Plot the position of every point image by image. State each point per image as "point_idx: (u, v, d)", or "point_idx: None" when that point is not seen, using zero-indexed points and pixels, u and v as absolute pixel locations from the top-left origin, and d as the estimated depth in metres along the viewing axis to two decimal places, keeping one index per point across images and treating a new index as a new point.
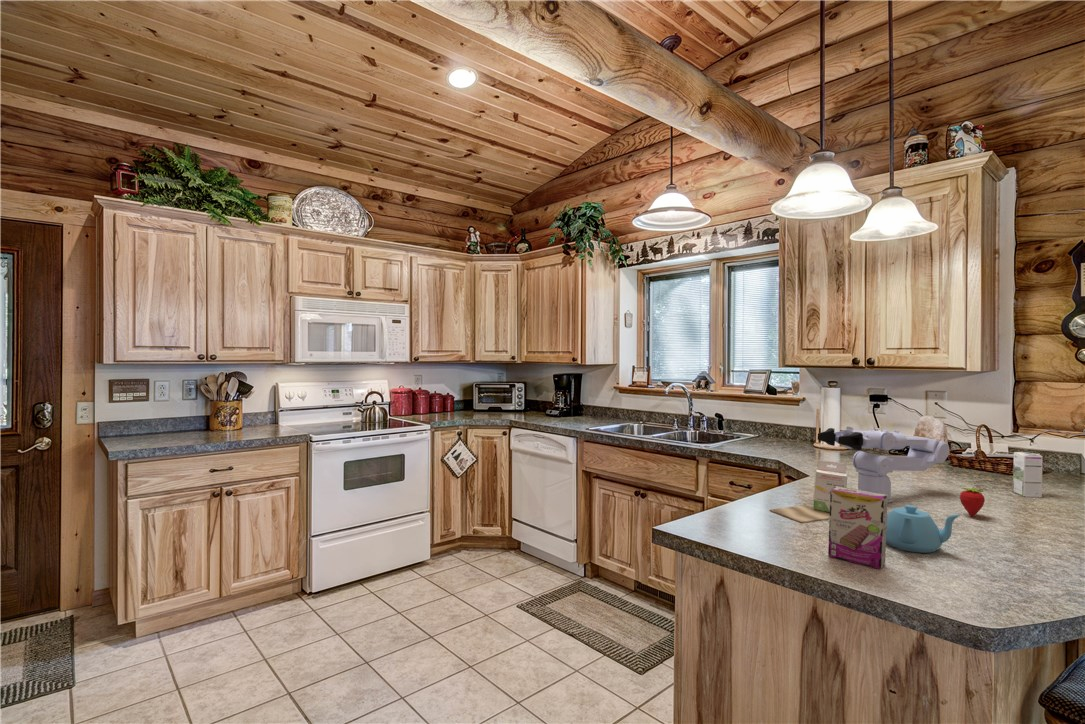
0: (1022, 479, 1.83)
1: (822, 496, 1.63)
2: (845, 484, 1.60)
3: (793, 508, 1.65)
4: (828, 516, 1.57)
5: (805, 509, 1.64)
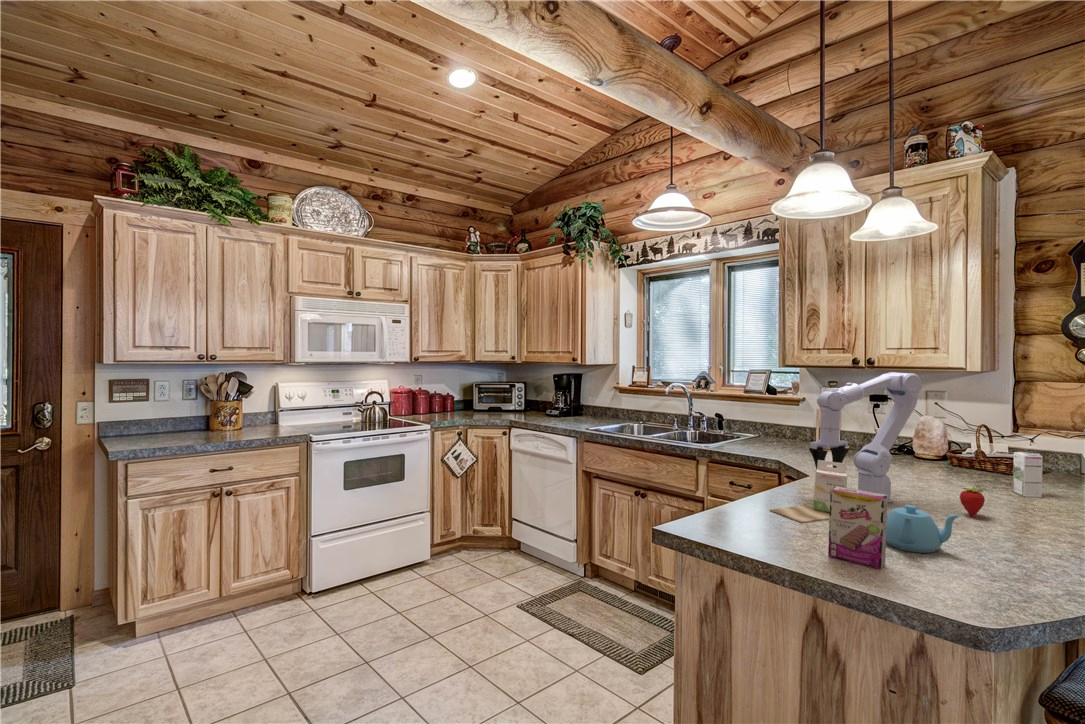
0: (1022, 479, 1.83)
1: (822, 496, 1.63)
2: (845, 484, 1.60)
3: (793, 508, 1.65)
4: (828, 516, 1.57)
5: (805, 509, 1.64)
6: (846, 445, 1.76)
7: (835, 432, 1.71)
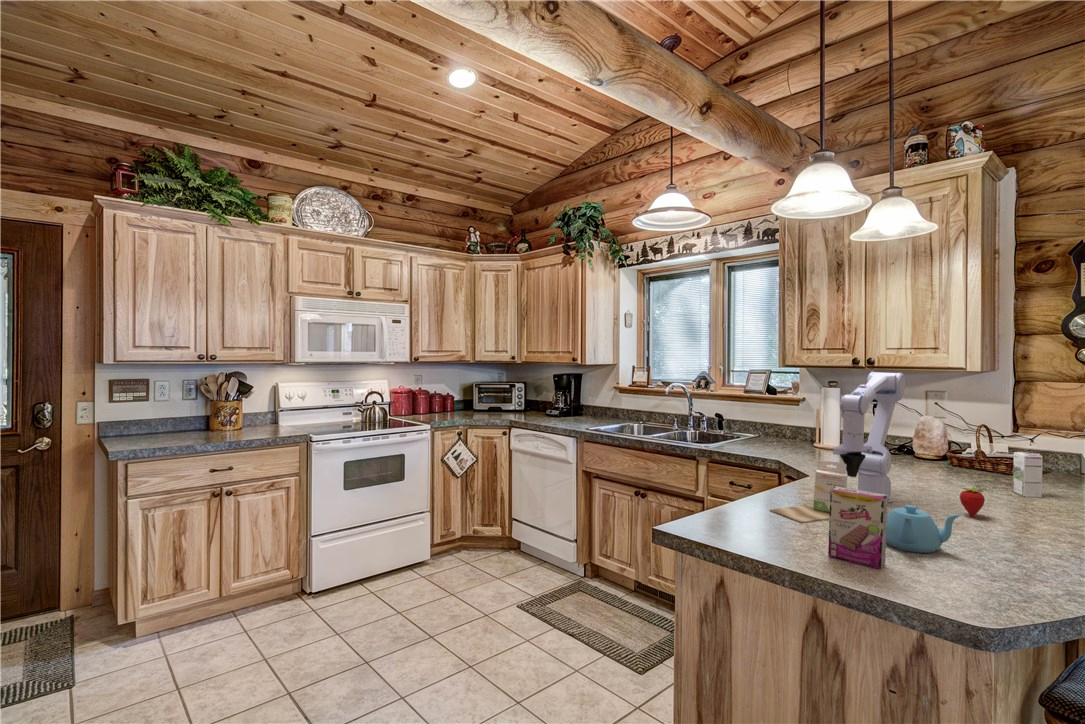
0: (1022, 479, 1.83)
1: (822, 496, 1.63)
2: (845, 484, 1.60)
3: (793, 508, 1.65)
4: (828, 516, 1.57)
5: (805, 509, 1.64)
6: (870, 450, 1.68)
7: (859, 437, 1.64)
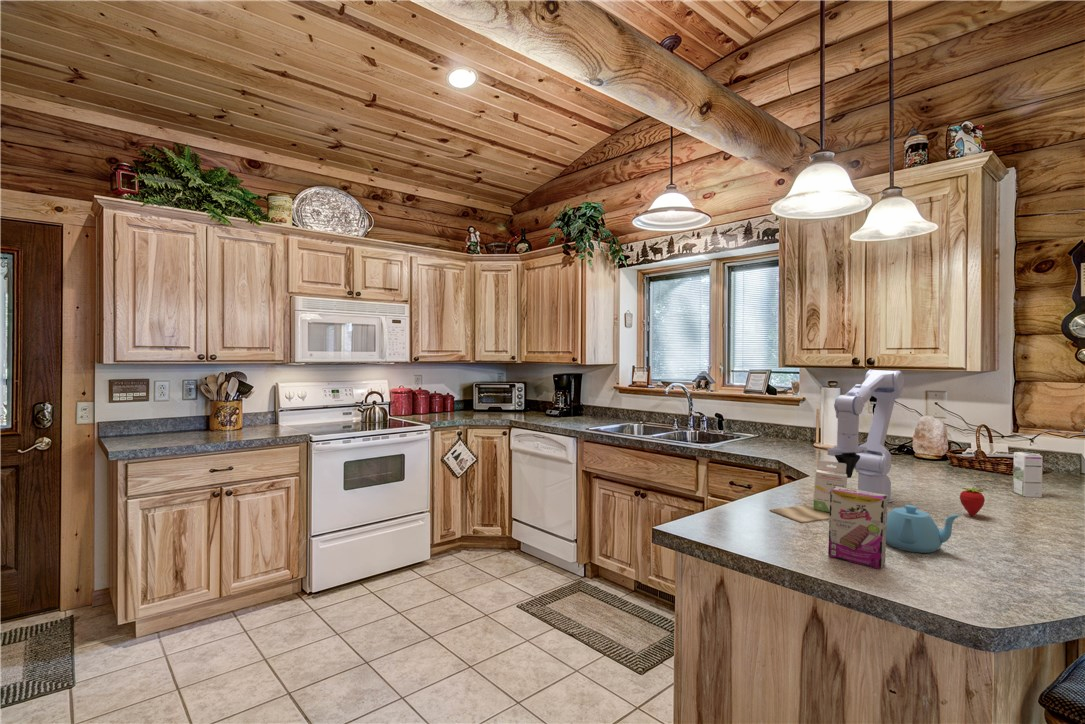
0: (1022, 479, 1.83)
1: (822, 496, 1.63)
2: (845, 484, 1.60)
3: (793, 508, 1.65)
4: (828, 516, 1.57)
5: (805, 509, 1.64)
6: (865, 451, 1.68)
7: (854, 438, 1.63)
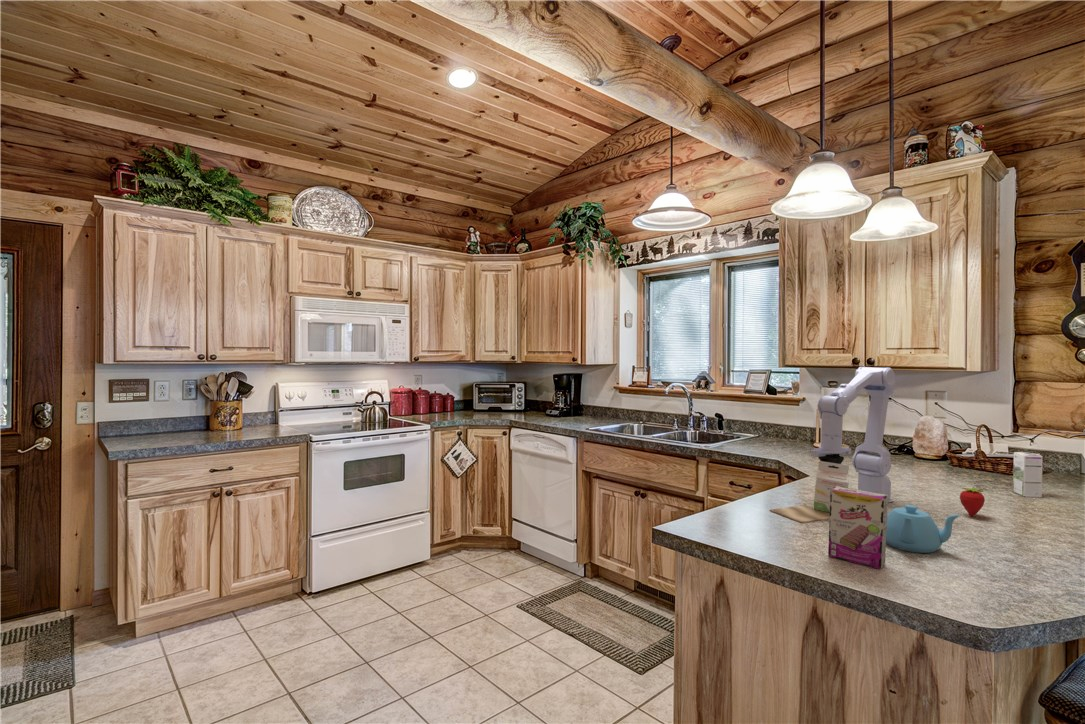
0: (1022, 479, 1.83)
1: (822, 498, 1.61)
2: None
3: (793, 508, 1.65)
4: (828, 516, 1.57)
5: (805, 509, 1.64)
6: (849, 452, 1.65)
7: (837, 439, 1.61)
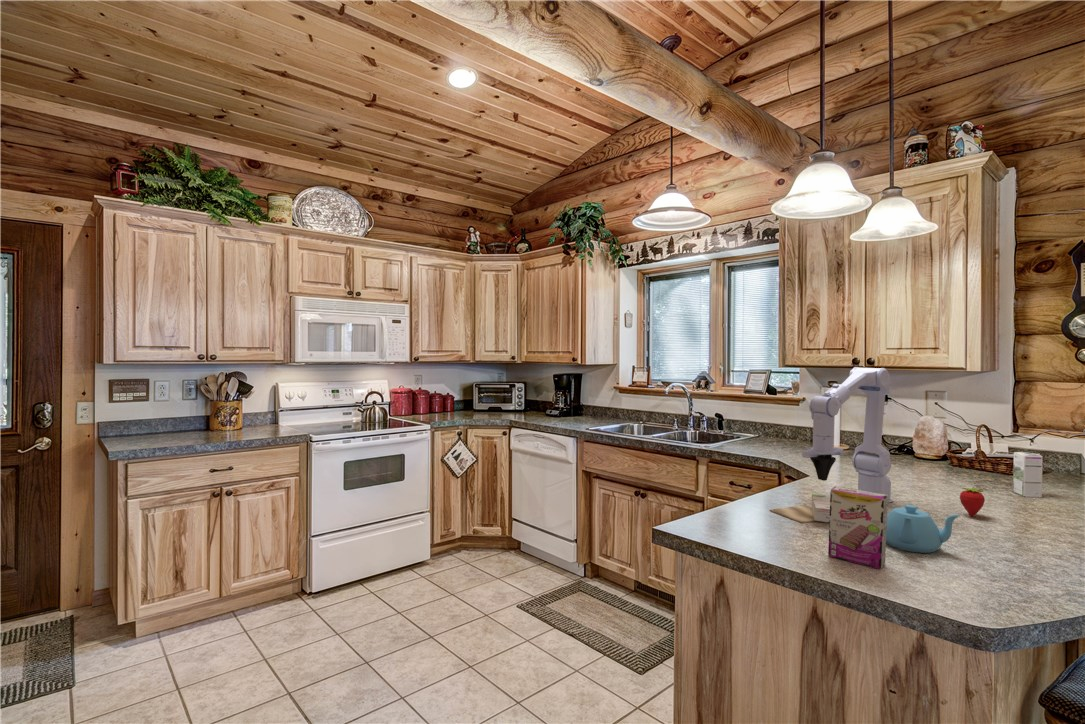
0: (1022, 479, 1.83)
1: None
2: None
3: (793, 508, 1.65)
4: None
5: (805, 509, 1.64)
6: (841, 453, 1.64)
7: (829, 440, 1.60)
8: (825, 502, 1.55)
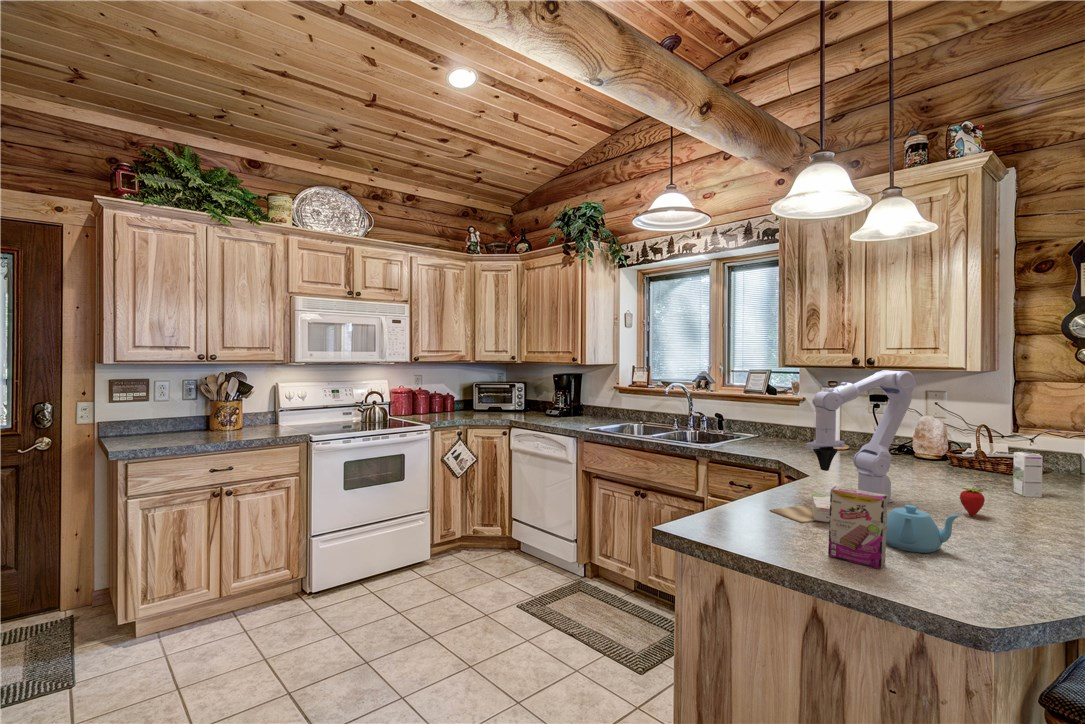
0: (1022, 479, 1.83)
1: None
2: None
3: (793, 508, 1.65)
4: None
5: (805, 509, 1.64)
6: (842, 445, 1.75)
7: (831, 432, 1.71)
8: (825, 502, 1.55)
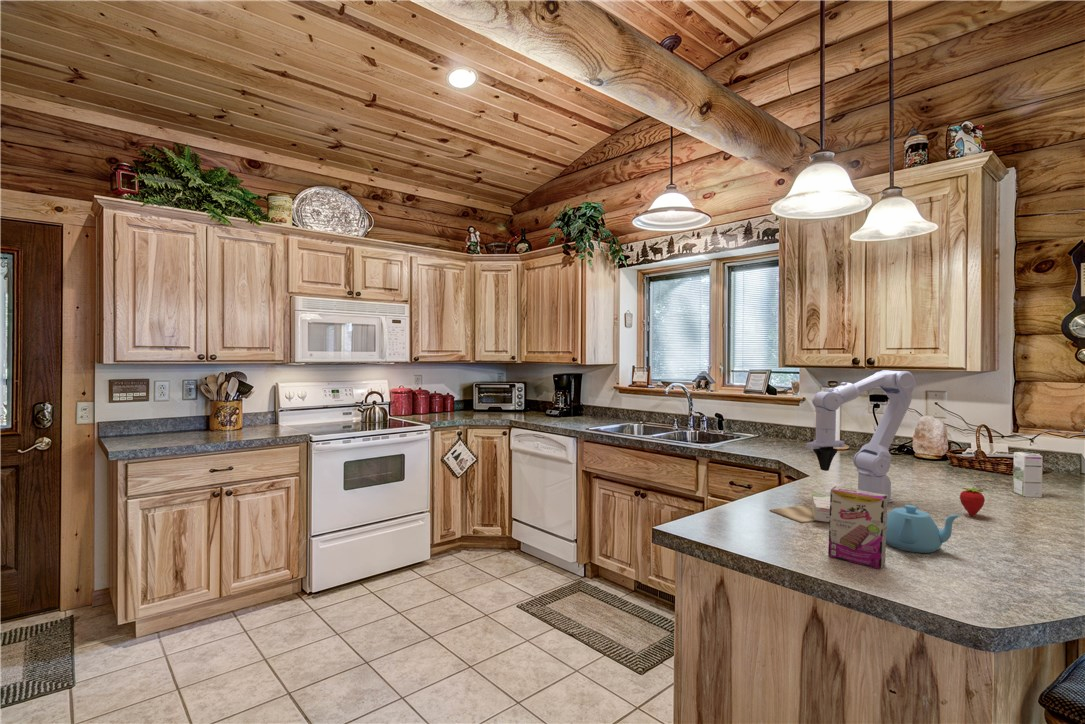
0: (1022, 479, 1.83)
1: None
2: None
3: (793, 508, 1.65)
4: None
5: (805, 509, 1.64)
6: (842, 445, 1.75)
7: (831, 432, 1.71)
8: (825, 502, 1.55)
